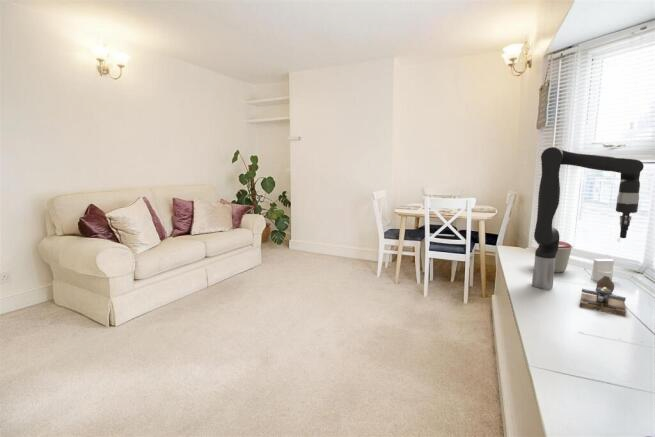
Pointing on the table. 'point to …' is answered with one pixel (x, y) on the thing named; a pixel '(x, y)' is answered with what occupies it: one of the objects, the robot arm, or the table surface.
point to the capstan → (603, 295)
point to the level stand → (603, 304)
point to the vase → (606, 283)
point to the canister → (562, 256)
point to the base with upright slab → (602, 269)
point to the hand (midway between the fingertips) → (622, 237)
